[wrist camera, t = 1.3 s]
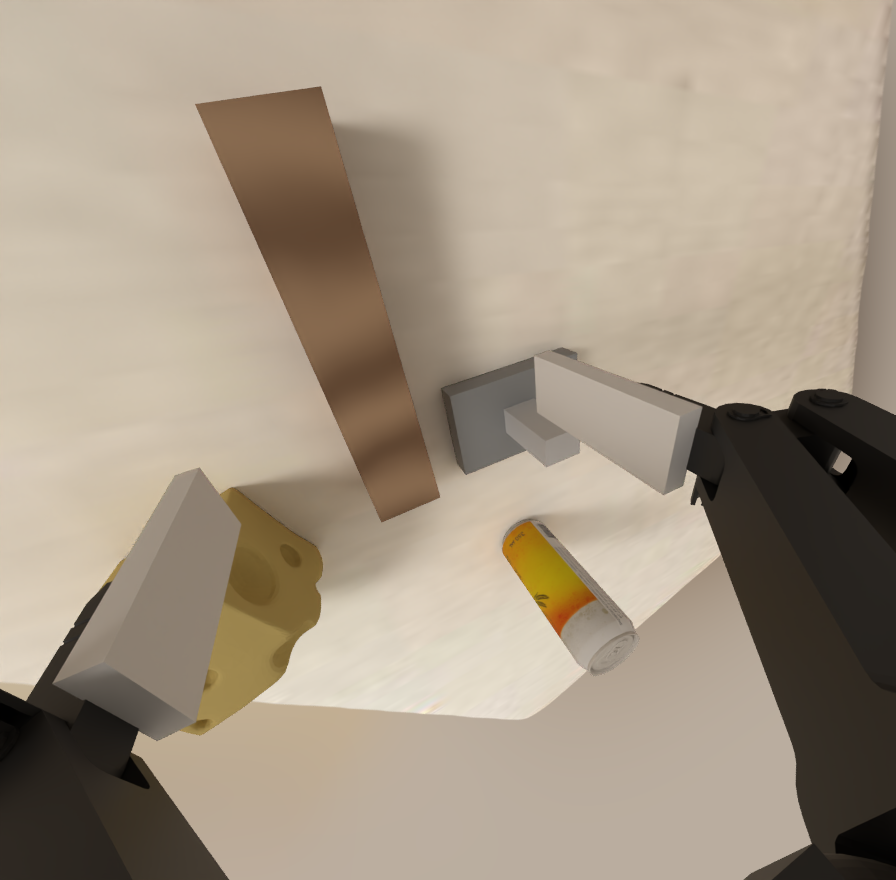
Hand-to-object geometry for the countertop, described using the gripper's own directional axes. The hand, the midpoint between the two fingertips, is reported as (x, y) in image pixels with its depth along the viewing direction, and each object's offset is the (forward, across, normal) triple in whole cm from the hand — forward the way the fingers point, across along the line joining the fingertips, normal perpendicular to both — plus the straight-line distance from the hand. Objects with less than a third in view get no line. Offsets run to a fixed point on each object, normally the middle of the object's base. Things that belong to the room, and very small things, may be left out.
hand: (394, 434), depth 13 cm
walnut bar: (+14, 0, 0) cm, 14 cm away
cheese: (+14, -15, -13) cm, 24 cm away
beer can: (+14, +12, -27) cm, 32 cm away
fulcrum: (+13, +12, -9) cm, 20 cm away
